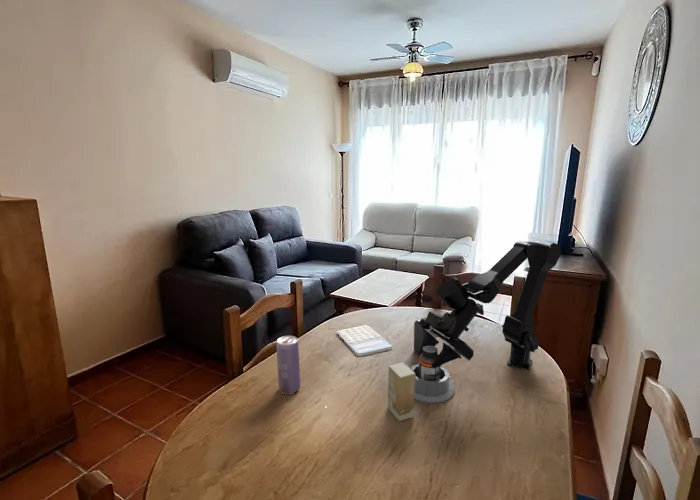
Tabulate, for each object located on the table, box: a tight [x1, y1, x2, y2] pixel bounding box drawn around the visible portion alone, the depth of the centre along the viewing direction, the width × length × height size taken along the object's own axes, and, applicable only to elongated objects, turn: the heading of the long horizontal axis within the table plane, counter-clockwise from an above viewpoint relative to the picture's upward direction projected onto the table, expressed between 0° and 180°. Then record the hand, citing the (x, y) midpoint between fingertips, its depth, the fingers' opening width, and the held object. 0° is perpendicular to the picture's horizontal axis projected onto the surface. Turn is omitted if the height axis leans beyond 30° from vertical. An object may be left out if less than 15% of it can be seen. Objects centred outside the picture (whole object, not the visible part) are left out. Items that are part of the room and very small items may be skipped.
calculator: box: [336, 324, 393, 357], centre depth 138 cm, size 13×20×2 cm, turn 24°
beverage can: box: [275, 335, 301, 395], centre depth 107 cm, size 6×6×15 cm
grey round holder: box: [410, 363, 456, 404], centre depth 108 cm, size 14×14×5 cm
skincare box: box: [387, 361, 415, 422], centre depth 97 cm, size 6×4×12 cm
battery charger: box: [413, 319, 424, 355], centre depth 127 cm, size 7×4×11 cm, turn 21°
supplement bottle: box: [418, 346, 442, 381], centre depth 107 cm, size 6×6×11 cm
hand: (425, 362), depth 106 cm, fingers open, 6 cm apart
